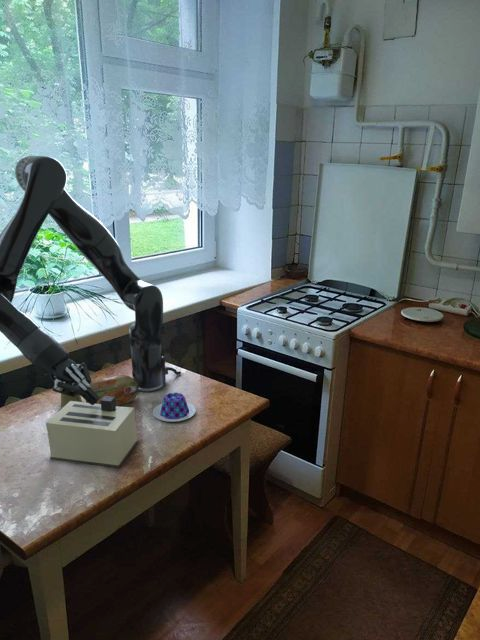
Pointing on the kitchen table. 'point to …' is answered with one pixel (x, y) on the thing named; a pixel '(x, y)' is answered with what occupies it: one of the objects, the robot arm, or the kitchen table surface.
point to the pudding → (174, 408)
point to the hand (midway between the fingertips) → (96, 401)
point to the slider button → (108, 403)
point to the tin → (116, 389)
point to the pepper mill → (69, 399)
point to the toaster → (92, 434)
